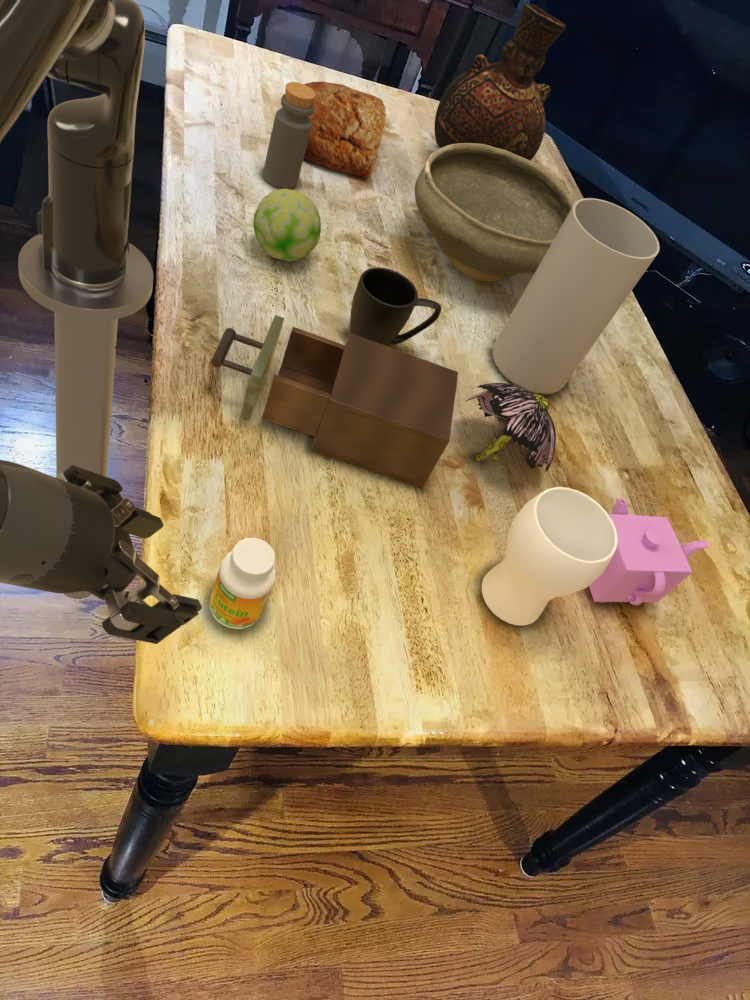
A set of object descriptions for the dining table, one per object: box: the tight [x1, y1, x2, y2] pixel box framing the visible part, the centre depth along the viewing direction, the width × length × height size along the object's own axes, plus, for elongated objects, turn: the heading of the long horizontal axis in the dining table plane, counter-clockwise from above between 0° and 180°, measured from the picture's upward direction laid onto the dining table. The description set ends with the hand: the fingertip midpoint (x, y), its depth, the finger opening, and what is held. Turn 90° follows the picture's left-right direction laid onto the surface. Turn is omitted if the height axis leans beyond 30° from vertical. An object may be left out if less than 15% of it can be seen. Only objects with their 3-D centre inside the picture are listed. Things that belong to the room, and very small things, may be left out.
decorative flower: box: [465, 382, 557, 473], centre depth 100 cm, size 15×12×15 cm
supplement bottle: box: [209, 537, 277, 630], centre depth 73 cm, size 5×5×10 cm
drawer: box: [210, 314, 345, 437], centre depth 92 cm, size 19×11×7 cm, turn 81°
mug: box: [349, 266, 442, 347], centre depth 105 cm, size 8×12×10 cm
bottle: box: [262, 81, 316, 190], centre depth 121 cm, size 6×6×15 cm
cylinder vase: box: [492, 197, 660, 395], centre depth 107 cm, size 12×12×25 cm
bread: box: [281, 81, 387, 178], centre depth 135 cm, size 20×18×10 cm
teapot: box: [588, 497, 711, 606], centre depth 92 cm, size 18×13×10 cm
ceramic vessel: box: [434, 2, 566, 161], centre depth 138 cm, size 21×18×30 cm
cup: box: [481, 486, 618, 626], centre depth 83 cm, size 11×11×15 cm
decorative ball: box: [253, 188, 322, 262], centre depth 111 cm, size 10×10×10 cm
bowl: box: [414, 143, 575, 282], centre depth 125 cm, size 28×28×14 cm
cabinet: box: [310, 332, 459, 489], centre depth 94 cm, size 15×13×9 cm
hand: (173, 568), depth 64 cm, fingers open, 8 cm apart
